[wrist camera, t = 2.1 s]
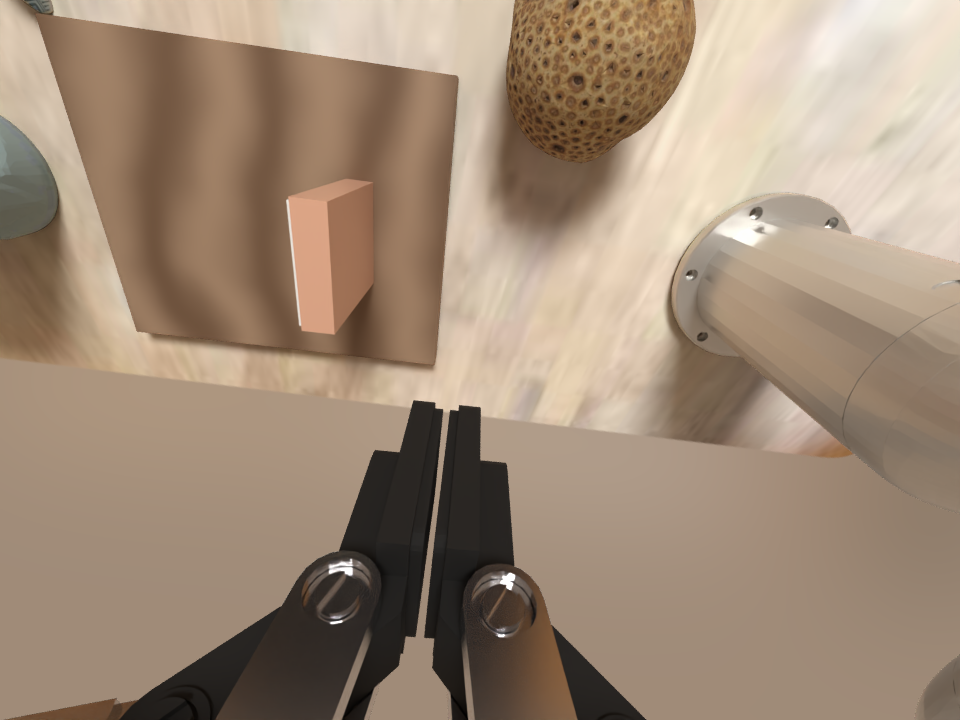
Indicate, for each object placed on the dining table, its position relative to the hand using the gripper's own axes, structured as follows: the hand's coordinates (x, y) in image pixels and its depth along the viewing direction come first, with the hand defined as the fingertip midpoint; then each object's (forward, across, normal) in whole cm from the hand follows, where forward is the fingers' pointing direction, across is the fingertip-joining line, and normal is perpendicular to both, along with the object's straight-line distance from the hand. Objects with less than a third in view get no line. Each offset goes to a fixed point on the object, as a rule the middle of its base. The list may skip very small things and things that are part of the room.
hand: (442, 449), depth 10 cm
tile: (+21, +8, 0) cm, 23 cm away
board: (+23, +14, 0) cm, 27 cm away
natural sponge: (+23, -5, -11) cm, 26 cm away
